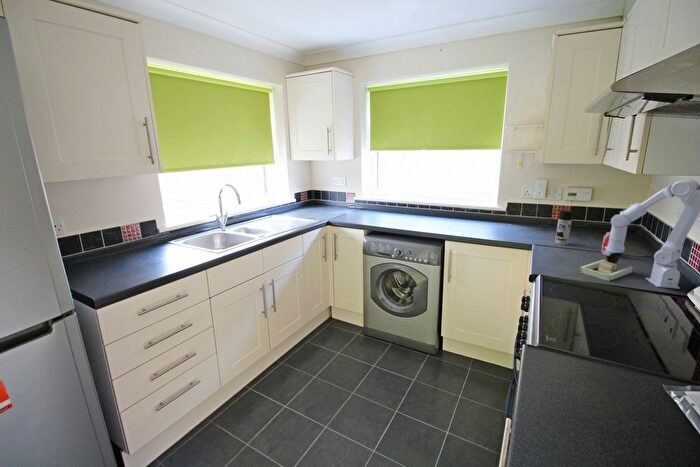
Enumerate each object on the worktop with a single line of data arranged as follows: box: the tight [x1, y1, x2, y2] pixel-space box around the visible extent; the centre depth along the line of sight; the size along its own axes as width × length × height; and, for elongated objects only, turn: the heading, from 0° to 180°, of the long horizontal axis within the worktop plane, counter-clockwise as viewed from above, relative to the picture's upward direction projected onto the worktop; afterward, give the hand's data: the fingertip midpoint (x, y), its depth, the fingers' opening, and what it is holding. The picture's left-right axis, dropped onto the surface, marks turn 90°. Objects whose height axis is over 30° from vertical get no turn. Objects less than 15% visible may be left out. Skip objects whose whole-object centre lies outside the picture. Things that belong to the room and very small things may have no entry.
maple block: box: [597, 261, 618, 274], centre depth 160 cm, size 5×5×4 cm
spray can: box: [554, 209, 574, 246], centre depth 202 cm, size 7×7×20 cm
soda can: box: [600, 231, 611, 257], centre depth 183 cm, size 7×7×12 cm
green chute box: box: [578, 259, 634, 282], centre depth 160 cm, size 21×12×2 cm, turn 120°
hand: (611, 267), depth 162 cm, fingers closed
